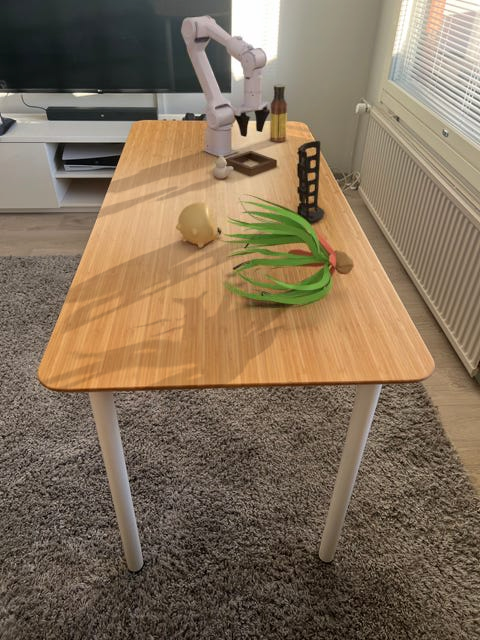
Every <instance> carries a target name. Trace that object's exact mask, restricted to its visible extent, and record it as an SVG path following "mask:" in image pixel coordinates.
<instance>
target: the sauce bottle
mask: <svg viewBox="0 0 480 640" xmlns="http://www.w3.org/2000/svg"><path fill="white" fill-rule="evenodd" d="M285 90H286V86H285V85H284V84H282V83H281V84H279V83H278V84H274V85H273V99H272V101H271V103H270V120H269V121H270V122H269V123H270V124H269V126H270V129H269V137H270V140H271V141H272V142H276V143H283V142H285V141H286V139H287V127H288V126H287V124H288V104H287V101H286V98H285Z"/></svg>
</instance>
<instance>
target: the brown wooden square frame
mask: <svg viewBox="0 0 480 640" xmlns="http://www.w3.org/2000/svg"><path fill="white" fill-rule="evenodd" d="M224 159H225V160H226V162H227V165H226V166H227V167H228V166H232V167H233V170H232V171H236V172H238V173H240V174H244V175H245V176H247V177H248V176H249V177H253V176H256V175H259V174H261V173H265V172H267V171H270V170H273V169H275V168H277V165H278V159H275V158H272V157H270V156H267V155H264V154H261V153H259V152H256V151H253V150H248V151H245V152H242V153H238V154H236V155H233V156H230V157H227V158H224ZM247 161H253V162H256V163H257V164H255V165H251V166H250V165H247V164H245V162H247Z"/></svg>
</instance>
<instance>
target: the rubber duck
mask: <svg viewBox="0 0 480 640" xmlns="http://www.w3.org/2000/svg"><path fill="white" fill-rule="evenodd" d="M225 159H226V158H225V156H224V157H223V156H221V154H220V157H218V158H217V160H216V161H215V167H214V168H213V169H212V173H213V176H214V177H216V178H217V179H221V180H222V179H223V180H224V179H225V178H227V177H228V176H231V175H233V171H234V170H233V167H232V166H228V167H227V166H226V165H227V162H226V160H225Z"/></svg>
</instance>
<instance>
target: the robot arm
mask: <svg viewBox="0 0 480 640" xmlns="http://www.w3.org/2000/svg"><path fill="white" fill-rule="evenodd" d="M180 33H181V36H182V39H183V41H184V43H185V45H186V51H187V54H188V57H189V59H190V62H191V65H192V67H193V69H194V73H195V75H196V77H197V79H198V82H199V84H200V87H201V89H202V92H203V94H204V97H205V100H206V102H207V103H206V106H205V108H204V113H205V118H206V123H207V125H208V126H207V127H206V129H205V133H204V136H205V137H204V139H205V142H204V143H205V144H204V145H205V148H204V149H203V151H204V152H206V153H207V154H210V155H213V156H216V157H218V158H219V157H220V154H221V156H223V157H224V158H225V157H226V156H230V155H233V154H236V153H237V150H234V149H232V130H233V129H232V128H233V127H234V126H233V125H234V123H235V122H236V123H237V125H238V128H239V133H240V136H241V137H244V138H246V137H248V136H247V135H248V127H249V123H250V119H251V116H249V115H247V114H248V113H249V114H250V113H252V112H254V115H255V129H256V132H259V133H262V132H263V130H264V127H265V124H266V120H267V119H268V116H270V114H271V109H270V104H271V103H270V101H268V100H263V101H262V92H263V91H262V89H263V68H265V66H266V65H267V55H266V52H265V51H264V49H262V47H256V48H255V47H254V46H253V44H249V43H248V42H246V41H245V40H244V39H243V36H241V35H234V36H231V35H230V34H229V33H228V32H227V31H226V30H224V28H222V27H221V26H220V25H219V24H218V23H216V19H215V18H212V17H211V16H210V15H202V16H195V17H185V18H184V19H183V21H182V24H181V29H180ZM211 39H212V40H214V41H215V42H217V43H219V44H221V45H222V46H223V47H225V48H226V52H227V54H228V55H230V56H231V57H233V58H234V59H235V60H237V61H238V62H239V63H240V66H241V68H242V74H243V104H241V105H240V106H238V107H234V106H232V105H231V102H230V100H229V99H227V98H225V97H224V96H223V95H222V92H221V89H220V87H219V84H218V82H217V79H216V76H215V74H214V72H213V69H212V66H211V64H210V61H209V59H208V56H207V53H206V51H205V50H206V47H207V46H208V44H209V43H210V40H211Z"/></svg>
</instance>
